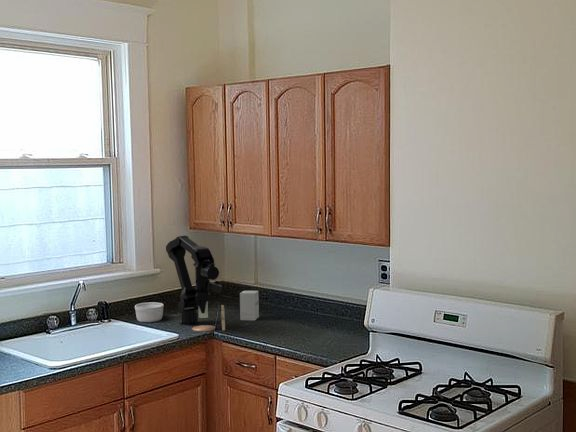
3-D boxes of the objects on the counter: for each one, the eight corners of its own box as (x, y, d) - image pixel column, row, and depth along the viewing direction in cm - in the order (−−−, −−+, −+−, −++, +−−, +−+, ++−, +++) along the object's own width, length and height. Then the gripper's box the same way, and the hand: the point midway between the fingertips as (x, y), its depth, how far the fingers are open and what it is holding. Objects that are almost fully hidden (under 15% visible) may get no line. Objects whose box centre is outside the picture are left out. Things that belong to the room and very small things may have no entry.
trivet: (187, 330, 325) (187, 329, 325) (199, 325, 334) (199, 324, 334) (208, 332, 321) (208, 331, 321) (219, 327, 330) (219, 326, 330)
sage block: (208, 317, 325) (207, 301, 325) (198, 318, 325) (198, 302, 324) (207, 315, 329) (207, 299, 329) (198, 316, 329) (198, 300, 328)
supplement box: (255, 320, 341) (254, 293, 340) (239, 320, 343) (239, 293, 341) (259, 317, 348) (258, 290, 347) (244, 316, 350) (243, 290, 349)
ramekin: (170, 319, 349) (169, 304, 348) (147, 324, 339) (147, 309, 338) (151, 315, 358) (151, 301, 357) (129, 320, 348) (128, 305, 347)
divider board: (225, 330, 323) (224, 309, 323) (222, 330, 323) (221, 309, 323) (224, 325, 333) (223, 305, 333) (221, 325, 333) (221, 305, 332)
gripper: (221, 279, 317) (222, 316, 319) (220, 272, 336) (221, 307, 337) (194, 280, 316) (195, 317, 317) (195, 273, 334) (196, 308, 336)
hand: (203, 312), depth 327 cm, fingers closed on sage block, 4 cm apart
